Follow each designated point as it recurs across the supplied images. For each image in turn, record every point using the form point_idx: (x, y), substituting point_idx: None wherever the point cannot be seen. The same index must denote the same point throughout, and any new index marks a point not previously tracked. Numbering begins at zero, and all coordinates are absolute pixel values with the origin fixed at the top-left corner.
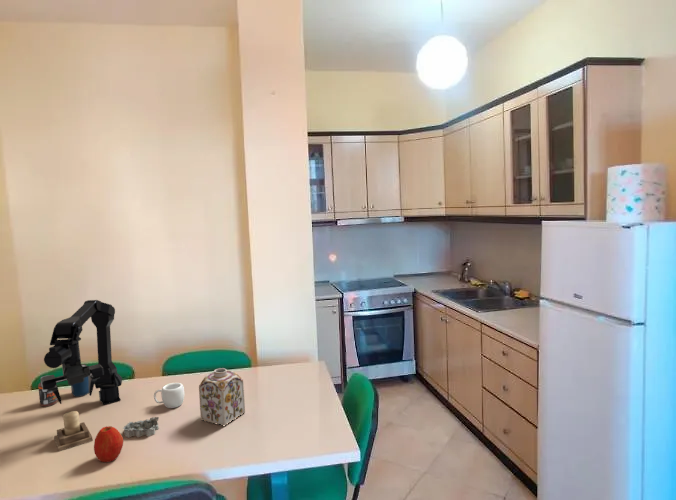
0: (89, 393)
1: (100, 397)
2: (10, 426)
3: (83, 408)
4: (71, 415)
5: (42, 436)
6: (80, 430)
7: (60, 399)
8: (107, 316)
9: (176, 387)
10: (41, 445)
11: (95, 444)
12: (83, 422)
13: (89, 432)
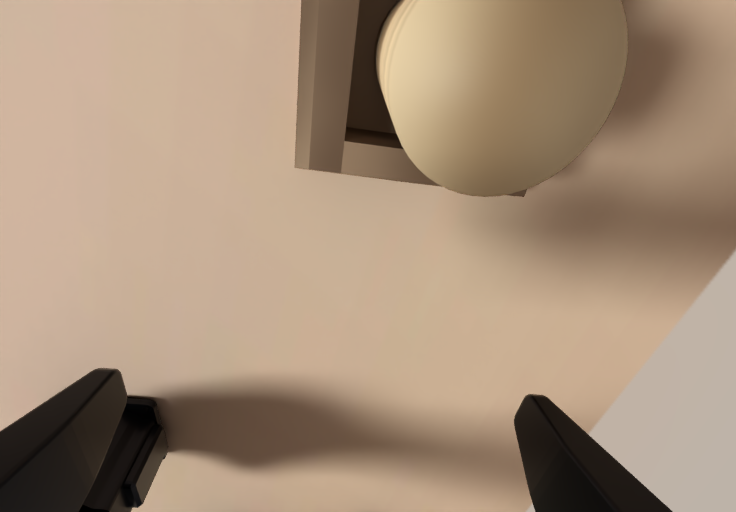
0: (101, 413)
1: (149, 455)
2: None
3: (257, 427)
4: (525, 16)
5: (526, 281)
6: (353, 128)
7: (582, 457)
8: None
9: None
10: (599, 163)
11: None
12: (315, 164)
13: (303, 15)
